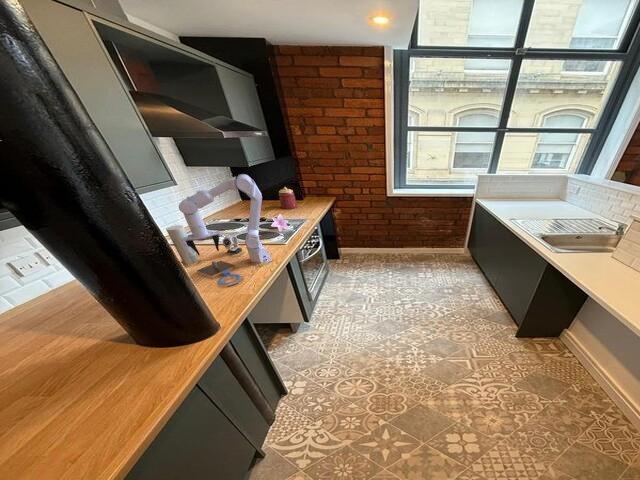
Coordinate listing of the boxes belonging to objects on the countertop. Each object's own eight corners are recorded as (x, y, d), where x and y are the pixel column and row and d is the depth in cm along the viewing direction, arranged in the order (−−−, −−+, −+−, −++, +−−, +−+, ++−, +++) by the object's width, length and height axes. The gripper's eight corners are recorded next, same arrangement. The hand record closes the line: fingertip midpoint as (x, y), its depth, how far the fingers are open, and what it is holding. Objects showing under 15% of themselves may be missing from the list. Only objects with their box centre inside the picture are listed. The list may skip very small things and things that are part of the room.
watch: (226, 257, 137) (218, 239, 131) (236, 251, 143) (229, 233, 138) (235, 257, 136) (228, 239, 131) (245, 251, 143) (238, 233, 138)
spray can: (186, 261, 131) (168, 225, 121) (201, 259, 133) (185, 224, 123) (182, 267, 126) (163, 230, 116) (197, 265, 128) (180, 229, 118)
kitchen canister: (283, 205, 227) (278, 185, 218) (298, 205, 229) (294, 185, 220) (279, 209, 216) (274, 188, 207) (295, 209, 218) (291, 188, 209)
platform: (236, 267, 127) (233, 259, 124) (212, 278, 117) (208, 269, 115) (221, 262, 131) (218, 254, 128) (197, 273, 121) (192, 264, 119)
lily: (270, 234, 169) (272, 223, 164) (268, 223, 175) (270, 212, 170) (289, 236, 177) (291, 226, 171) (287, 225, 183) (289, 215, 177)
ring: (243, 282, 115) (241, 277, 114) (221, 289, 110) (218, 283, 109) (238, 272, 123) (236, 267, 121) (216, 278, 118) (214, 273, 116)
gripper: (214, 220, 120) (224, 246, 127) (176, 227, 112) (189, 253, 119) (217, 224, 116) (227, 250, 123) (177, 231, 107) (190, 259, 114)
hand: (208, 252), depth 120 cm, fingers open, 7 cm apart
